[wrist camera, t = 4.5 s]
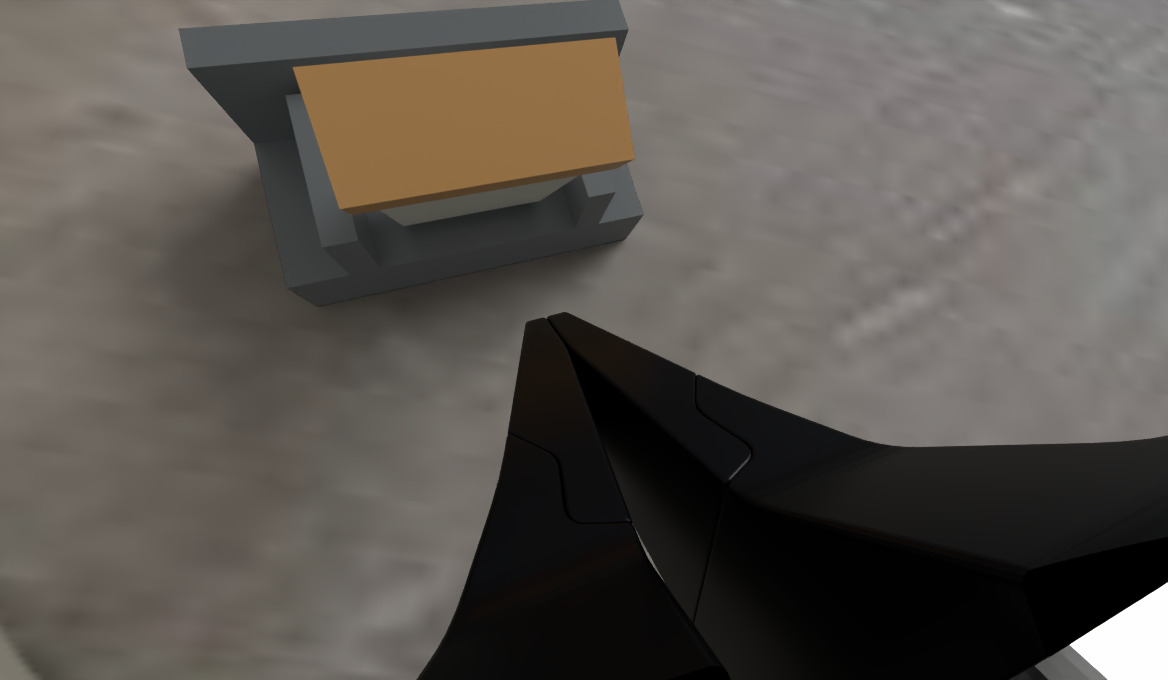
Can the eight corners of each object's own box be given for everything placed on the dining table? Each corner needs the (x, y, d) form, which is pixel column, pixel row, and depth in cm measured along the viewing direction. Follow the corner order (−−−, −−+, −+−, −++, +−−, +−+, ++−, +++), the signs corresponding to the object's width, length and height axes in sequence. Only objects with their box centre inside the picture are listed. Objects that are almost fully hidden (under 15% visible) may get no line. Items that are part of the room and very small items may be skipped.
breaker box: (625, 238, 24) (676, 169, 17) (317, 306, 20) (226, 251, 13) (584, 112, 25) (617, -2, 18) (281, 153, 21) (178, 28, 14)
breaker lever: (547, 206, 19) (635, 159, 10) (398, 234, 18) (339, 209, 9) (535, 146, 19) (615, 37, 10) (378, 170, 17) (292, 67, 8)
